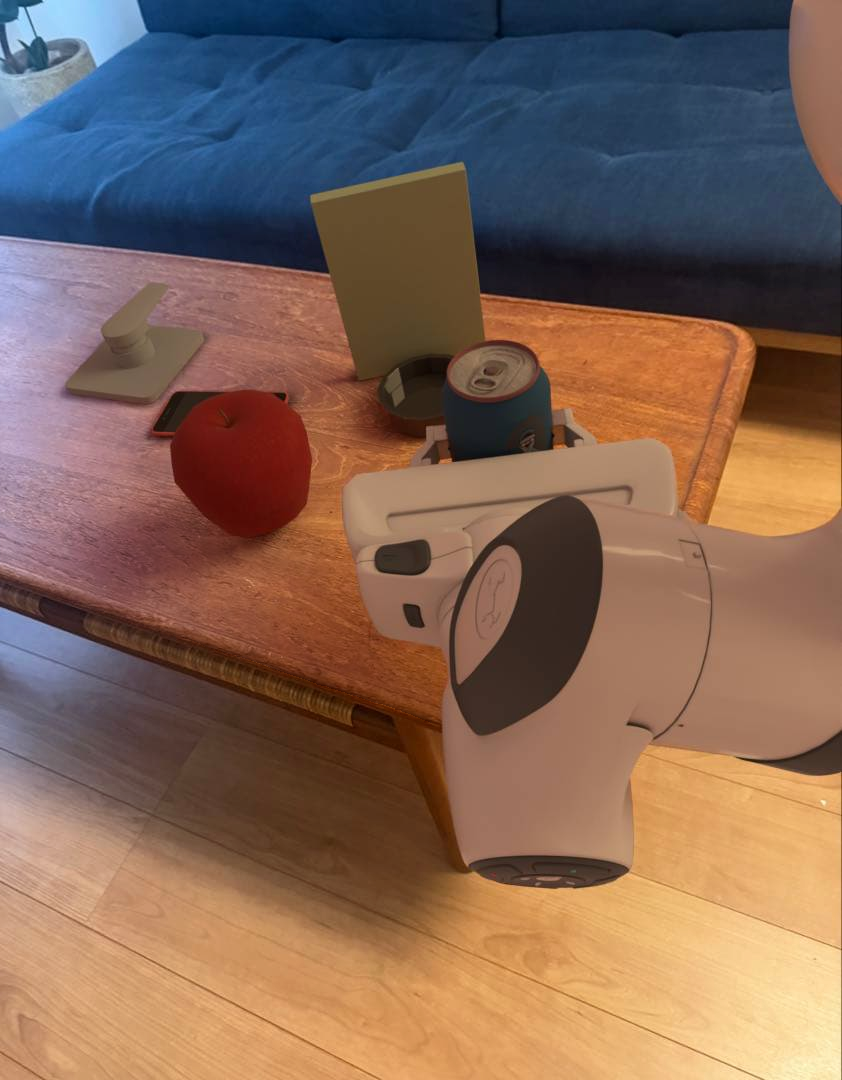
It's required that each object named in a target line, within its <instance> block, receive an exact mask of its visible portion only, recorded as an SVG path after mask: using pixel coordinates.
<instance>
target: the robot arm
mask: <svg viewBox="0 0 842 1080" xmlns="http://www.w3.org/2000/svg"><path fill="white" fill-rule="evenodd" d="M789 15H790V16H789V30H788V31H789V33H788V71H789V81H790V88H791V95H792V101H793V106H794V110H795V114H796V118H797V122H798V127H799V128H800V132H801V135H802V138H803V140H804V143H805V146H806V149H807V151H808V152H809V154H810V157H811V160H812V161H813V163H814V165H815V167H816V169H817V171H818V172H819V174H820V176H821V178H822V180H823V181H824V183H825V184H826V186H827V187H828V188H829V190H830V191H831V193H832V195H833V196H834V197H835V198H836V200H837V201H838V202H839V204H840V205H841V206H842V0H793V1H792V4H791V9H790V14H789ZM574 419H575V418H574V415H573V410H572V407H566V408H561V409H553V410H552V434H553V436H552V442H553V447H554V446H562V445H563V446H564V445H565V446H566V447H563V448H556V449H555V448H554V450H546V451H538V452H530V453H522V454H514V455H506V456H498V457H490V458H482V459H474V460H466V461H458V462H452V461H451V462H443V463H440V461H443V460H449V459H450V460H451V458H452V456H451V450H450V447H449V446H450V445H449V439H448V436H447V431H446V425H445V424H444V425H435V426H427V427H426V438H425V439H426V441H425V442H423V443H422V444H421V446H420V447H419V449H418V450H417V451H416V452H415V453H414V454H413V456H412V457H410V459H409V467H403V468H394V469H387V470H379V471H371V472H370V471H369V472H362V473H357V474H354V476H352V477H351V478H350V479H349V480H348V481H347V482H346V483H345V484H344V485H343V486H342V490H341V518H342V523H343V530H344V536H345V539H346V541H347V544H348V548H349V551H350V554H351V557H352V560H353V563H354V564H355V573H356V574H355V575H356V580H357V585H358V589H359V593H360V596H361V600H362V603H363V605H364V607H365V611H366V613H367V615H368V617H369V619H370V621H371V623H372V625H373V626H374V628H375V630H376V631H377V633H378V634H379V635H380V636H382V637H384V638H387V639H389V640H390V639H391V640H396V641H402V642H407V643H413V644H418V645H419V644H420V645H423V646H424V645H425V646H429V647H430V646H431V647H434V648H439V649H440V650H441V654H442V656H443V659H444V661H445V665H446V669H447V679H446V684H445V687H444V691H443V694H442V699H441V711H440V713H441V736H442V750H443V751H442V752H443V761H444V771H445V780H446V788H447V795H448V802H449V808H450V813H451V819H452V824H453V830H454V833H455V838H456V843H457V846H458V850H459V852H460V856H461V858H462V861H463V863H464V864H465V866H466V867H467V868H468V869H470V870H471V871H472V872H474V873H476V874H478V875H479V877H481V878H483V879H485V880H488V881H493V882H495V883H498V884H502V885H507V886H515V887H525V888H535V889H537V888H538V889H549V890H557V889H574V890H576V889H577V890H578V889H585V888H594V887H599V886H604V885H607V884H610V883H613V882H615V881H617V880H618V879H620V878H622V877H623V876H625V875H627V874H628V873H630V872H631V870H632V868H633V865H634V857H635V829H634V828H635V826H634V825H635V822H634V808H633V807H634V806H633V791H632V782H631V776H632V773H633V771H634V768H635V766H636V765H637V762H638V760H639V759H640V757H641V755H642V754H643V752H644V751H645V750H646V749H647V747H648V746H653V747H659V748H660V747H662V748H667V749H677V750H683V751H690V752H698V753H705V754H712V755H719V756H726V757H733V758H735V759H738V760H741V761H745V762H748V763H754V764H756V765H757V764H758V765H762V766H766V767H769V768H775V769H779V770H783V771H787V772H791V773H795V774H799V775H804V776H810V777H825V776H832V775H836V774H839V773H842V505H841V506H840V508H839V509H838V511H837V512H836V513H835V514H834V516H833V517H832V518H830V519H829V520H828V521H826V522H825V523H823V524H820V525H819V526H816V527H814V528H811V529H808V530H805V531H801V532H796V533H791V534H784V535H783V534H782V535H762V534H755V533H751V532H745V531H741V530H736V529H731V528H726V527H723V526H722V527H721V526H718V525H712V524H707V523H702V522H698V521H693V520H692V519H691V517H690V516H689V514H687V513H686V512H685V511H683V510H682V509H680V508H679V507H678V506H679V505H678V504H679V496H678V494H679V493H678V480H677V473H676V466H675V461H674V456H673V453H672V449H671V448H670V447H669V446H668V445H667V444H665V443H664V442H661V441H660V440H659V439H657V438H655V437H643V438H635V439H628V440H620V441H613V442H604V443H598V442H597V438H596V436H595V435H594V434H592V433H591V432H590V431H588V430H587V429H585V428H584V427H583V426H582V425H580V424H579V423H577V422H575V420H574Z"/></svg>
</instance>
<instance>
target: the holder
mask: <svg viewBox="0 0 842 1080" xmlns="http://www.w3.org/2000/svg"><path fill="white" fill-rule="evenodd" d="M453 357H454V356H452V355H450V354H426V355H421V356H417V357H412V358H409V359H407V360H405V361H403V362H401V363H399V364H397V365H395V366H394V367H393V368H392V369H391V370H390V371H388V372H387V373H386V374H385V375H384V376H382V378H381V379H380V382H379V385H378V387H377V390H376V392H377V397H378V404H379V407H380V412H381V415H382V418H383V420H384V422H385V423H386V424H387V426H388V427H389V428H390V429H391V430H393V431H394V432H396V433H398V434H400V435H402V436H405V437H409V438H410V437H411V438H414V439H415V438H417V439H426V427H427V426H435V425H444V424H445V419H444V414H443V408H442V402H441V391H442V388H443V385H444V382H445V380H446V378H447V368H448V365H449V363H450V362H451V360H452V359H453Z"/></svg>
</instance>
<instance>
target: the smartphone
mask: <svg viewBox="0 0 842 1080" xmlns="http://www.w3.org/2000/svg"><path fill="white" fill-rule="evenodd" d="M226 392H232V390H177V391H174V392H173V393H172V394H171V395H170V396H169V398H168V400H167V402H166V403H165V405H164V406H163V408H162V409H161V411H160V413H159V415H158V417H157V418H156V420H155V421H154V423H153V425H152V427H151V430H150V431H151V433H152V435H154V436H156V437H157V436H158V437H160V436H161V437H173V436H174V434H175V431H176V429H177V428H178V426H179V425H180V424H181V422H182V421H183V420H184V418H185V417H186V416H187V415H188V413H189V412H190V411H191V410H192V408H193V407H194V406H195V405H197V404H199V403H201V402H202V401H204V400H206V399H208V398H210V397H213V396H216V395H220V394H223V393H226ZM267 392H268V393H272V394H274V395H275V396H276V397H278V398H279V399H281V400H282V401H284V402H285V403H286V404H287V405H289V401H290V395H289V394H288V392H286V391H267Z"/></svg>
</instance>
